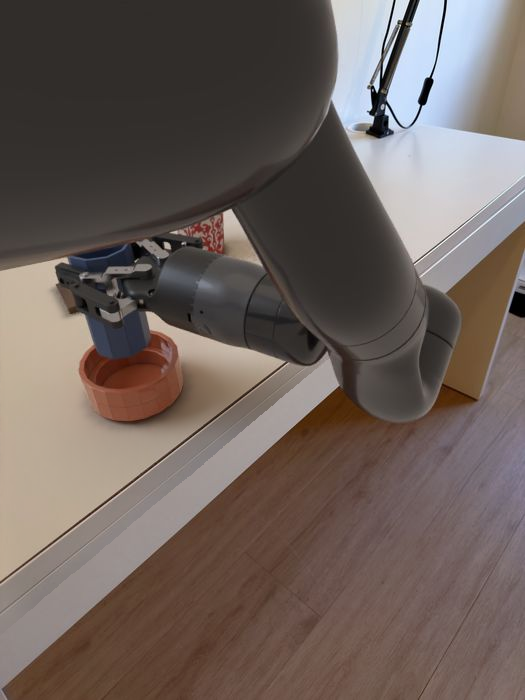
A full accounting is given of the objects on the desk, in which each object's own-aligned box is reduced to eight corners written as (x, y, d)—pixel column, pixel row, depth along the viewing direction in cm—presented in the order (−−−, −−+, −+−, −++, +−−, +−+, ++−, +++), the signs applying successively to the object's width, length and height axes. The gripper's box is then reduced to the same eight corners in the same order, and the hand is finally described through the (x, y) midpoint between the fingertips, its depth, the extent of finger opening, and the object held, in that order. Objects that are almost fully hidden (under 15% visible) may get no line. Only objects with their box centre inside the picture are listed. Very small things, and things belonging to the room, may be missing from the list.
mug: (241, 252, 89) (235, 173, 80) (196, 271, 85) (184, 190, 76) (199, 228, 97) (189, 154, 88) (156, 244, 92) (142, 168, 84)
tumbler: (105, 366, 56) (75, 266, 48) (89, 335, 60) (59, 240, 52) (158, 347, 58) (137, 249, 50) (139, 319, 62) (117, 225, 55)
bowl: (105, 439, 58) (94, 406, 54) (79, 380, 65) (68, 349, 62) (199, 400, 62) (193, 368, 58) (163, 349, 69) (157, 318, 66)
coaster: (69, 314, 77) (67, 308, 76) (57, 289, 82) (55, 283, 82) (122, 297, 80) (121, 291, 79) (106, 274, 85) (105, 269, 84)
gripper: (260, 226, 49) (124, 196, 56) (163, 303, 40) (14, 255, 47) (263, 294, 54) (137, 258, 61) (178, 377, 44) (40, 324, 51)
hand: (85, 257), depth 54 cm, fingers closed on tumbler, 6 cm apart
